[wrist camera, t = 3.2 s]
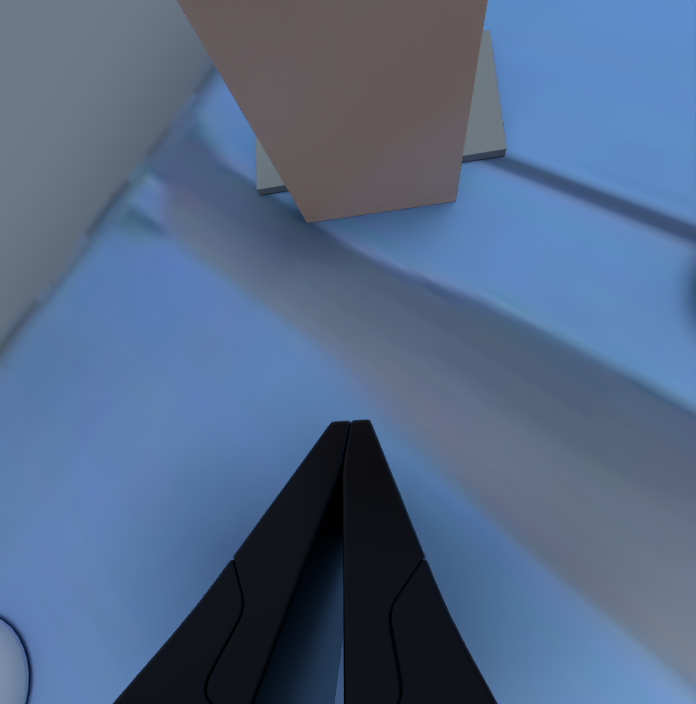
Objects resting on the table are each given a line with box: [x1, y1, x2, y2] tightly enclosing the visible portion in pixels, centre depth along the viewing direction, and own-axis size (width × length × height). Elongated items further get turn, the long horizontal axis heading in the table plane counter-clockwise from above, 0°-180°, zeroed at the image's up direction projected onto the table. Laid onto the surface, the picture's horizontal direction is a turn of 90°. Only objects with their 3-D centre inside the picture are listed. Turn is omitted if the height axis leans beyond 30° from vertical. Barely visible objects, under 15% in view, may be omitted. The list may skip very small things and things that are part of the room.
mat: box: [256, 30, 506, 195], centre depth 25 cm, size 8×15×1 cm, turn 93°
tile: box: [177, 0, 487, 223], centre depth 17 cm, size 2×9×14 cm, turn 93°
